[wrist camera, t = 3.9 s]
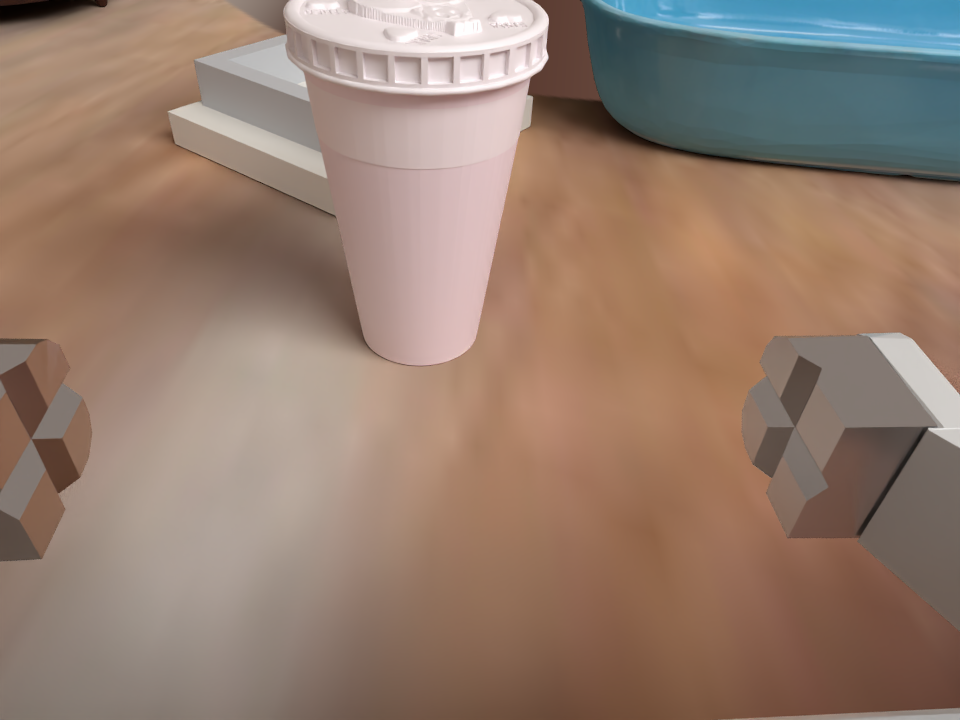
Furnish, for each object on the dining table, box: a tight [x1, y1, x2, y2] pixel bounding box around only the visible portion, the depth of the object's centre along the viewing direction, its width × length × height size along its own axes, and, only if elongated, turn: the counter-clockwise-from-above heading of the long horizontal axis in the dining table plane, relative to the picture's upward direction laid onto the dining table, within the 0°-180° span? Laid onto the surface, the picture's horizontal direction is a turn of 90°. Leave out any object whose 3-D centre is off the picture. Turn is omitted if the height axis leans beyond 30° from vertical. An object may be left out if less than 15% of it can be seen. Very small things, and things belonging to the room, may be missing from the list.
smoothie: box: [284, 0, 549, 366], centre depth 19 cm, size 6×6×14 cm
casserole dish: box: [580, 0, 960, 181], centre depth 39 cm, size 37×22×7 cm, turn 82°
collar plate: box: [168, 34, 533, 216], centre depth 33 cm, size 11×13×4 cm
